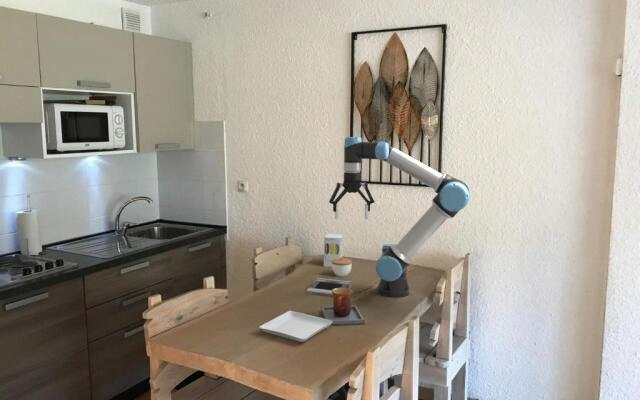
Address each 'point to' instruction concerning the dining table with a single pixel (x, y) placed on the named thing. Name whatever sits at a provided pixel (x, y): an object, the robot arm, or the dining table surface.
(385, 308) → the dining table surface
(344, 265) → the lidded jar
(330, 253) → the supplement box
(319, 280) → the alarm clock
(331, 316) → the rest tray
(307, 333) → the salad plate
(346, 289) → the mug
